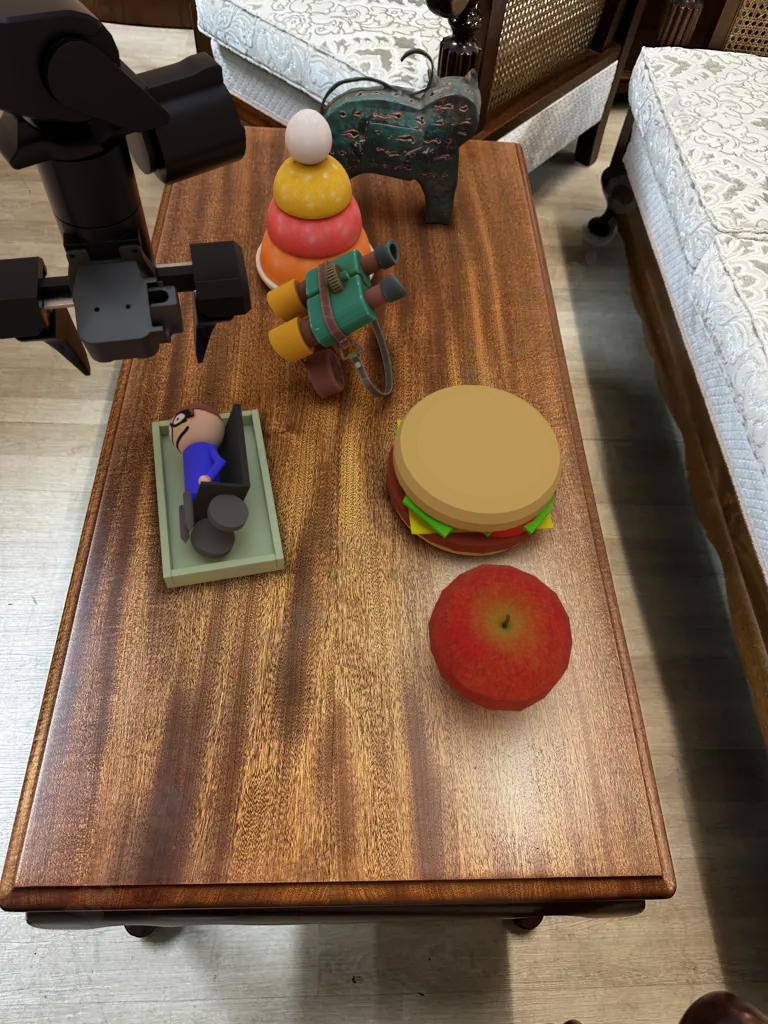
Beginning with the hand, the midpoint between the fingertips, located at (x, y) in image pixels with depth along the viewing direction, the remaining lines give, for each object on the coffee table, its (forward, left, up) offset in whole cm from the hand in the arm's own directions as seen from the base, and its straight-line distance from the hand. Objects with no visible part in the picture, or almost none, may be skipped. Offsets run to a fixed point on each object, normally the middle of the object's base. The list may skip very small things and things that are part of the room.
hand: (144, 365), depth 61 cm
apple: (+24, -28, -12) cm, 39 cm away
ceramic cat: (+30, +34, -12) cm, 47 cm away
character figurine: (+4, -7, -12) cm, 14 cm away
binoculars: (+18, +8, -12) cm, 23 cm away
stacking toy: (+19, +24, -12) cm, 33 cm away
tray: (+4, -7, -12) cm, 14 cm away
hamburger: (+28, -10, -12) cm, 32 cm away
